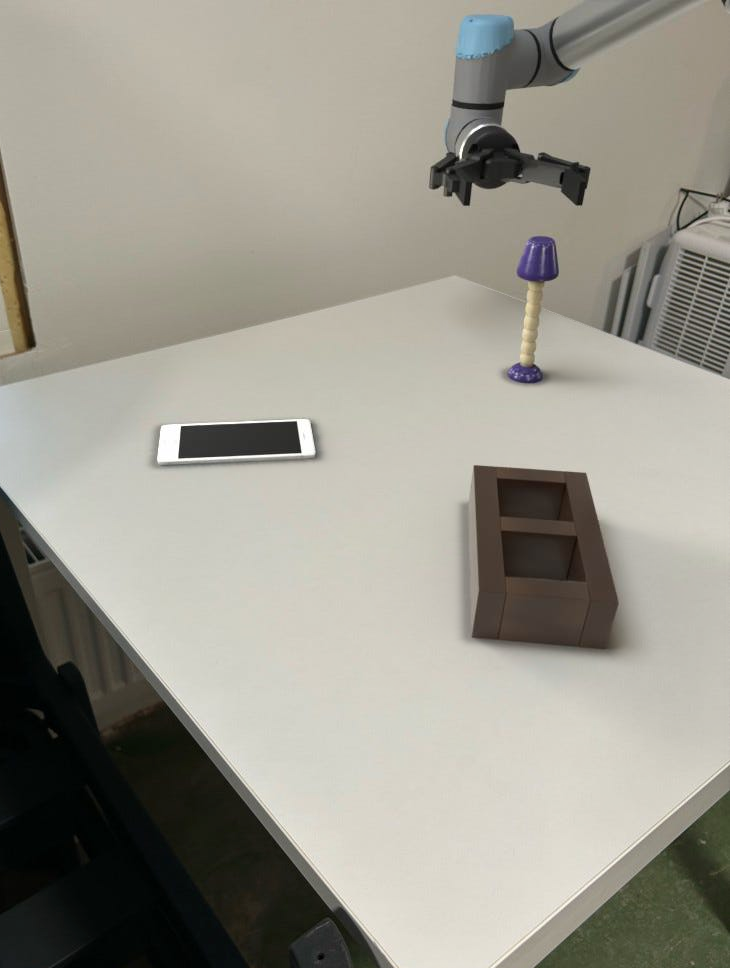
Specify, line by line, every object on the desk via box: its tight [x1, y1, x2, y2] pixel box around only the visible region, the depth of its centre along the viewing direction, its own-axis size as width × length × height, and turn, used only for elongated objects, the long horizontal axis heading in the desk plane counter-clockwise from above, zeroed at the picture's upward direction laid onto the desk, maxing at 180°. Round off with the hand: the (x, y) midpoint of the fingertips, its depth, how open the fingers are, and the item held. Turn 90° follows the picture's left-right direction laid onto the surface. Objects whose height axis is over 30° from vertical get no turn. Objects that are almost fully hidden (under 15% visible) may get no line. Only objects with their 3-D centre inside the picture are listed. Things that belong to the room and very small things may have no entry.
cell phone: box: [156, 418, 317, 466], centre depth 87 cm, size 8×16×1 cm, turn 96°
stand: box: [467, 464, 620, 650], centre depth 68 cm, size 10×18×5 cm, turn 173°
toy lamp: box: [506, 235, 560, 384], centre depth 96 cm, size 5×5×17 cm
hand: (524, 193), depth 97 cm, fingers open, 13 cm apart
